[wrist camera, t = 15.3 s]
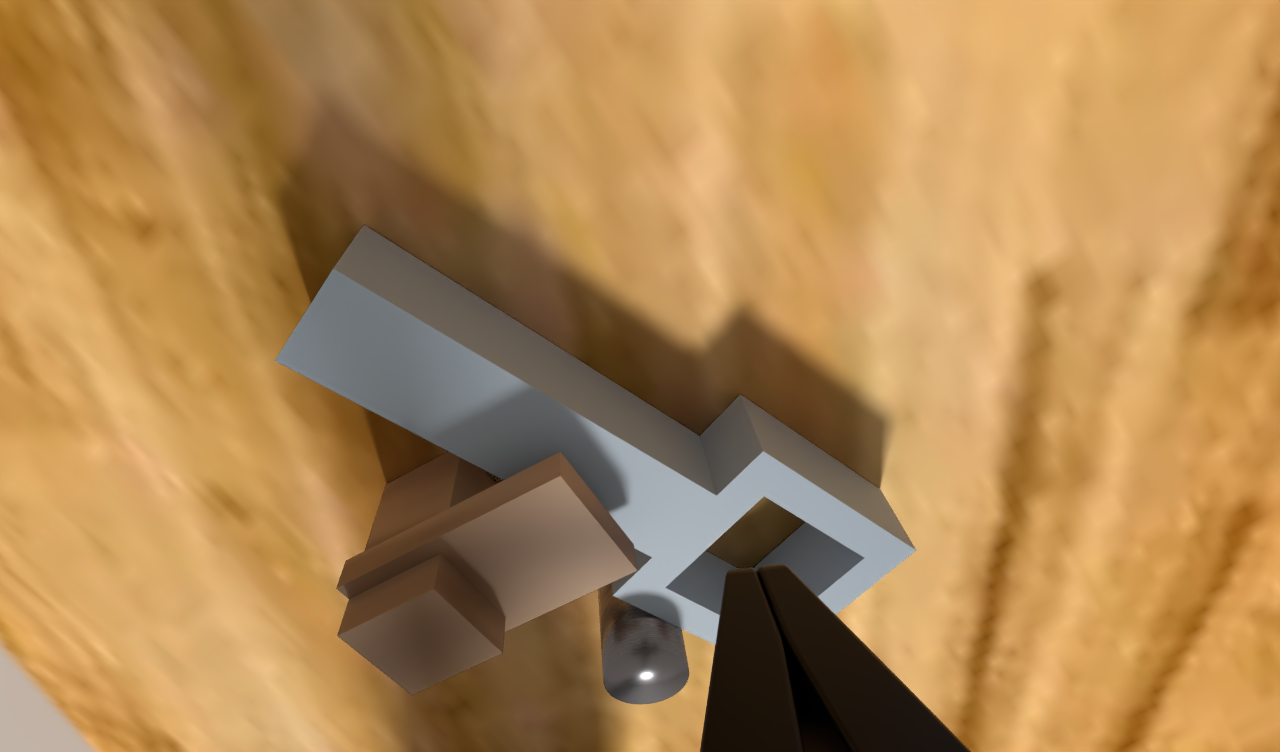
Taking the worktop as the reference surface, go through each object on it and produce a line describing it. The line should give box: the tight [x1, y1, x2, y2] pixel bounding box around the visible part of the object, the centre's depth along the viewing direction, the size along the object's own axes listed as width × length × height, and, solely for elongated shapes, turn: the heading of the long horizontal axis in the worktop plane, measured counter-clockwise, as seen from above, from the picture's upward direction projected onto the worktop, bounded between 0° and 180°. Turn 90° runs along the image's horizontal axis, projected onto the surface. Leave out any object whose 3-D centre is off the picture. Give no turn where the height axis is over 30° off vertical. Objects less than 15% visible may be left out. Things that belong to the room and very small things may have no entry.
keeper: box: [336, 451, 637, 695], centre depth 21 cm, size 4×7×6 cm, turn 119°
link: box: [275, 225, 916, 644], centre depth 22 cm, size 19×7×3 cm, turn 51°
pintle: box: [598, 583, 689, 704], centre depth 25 cm, size 3×3×4 cm
